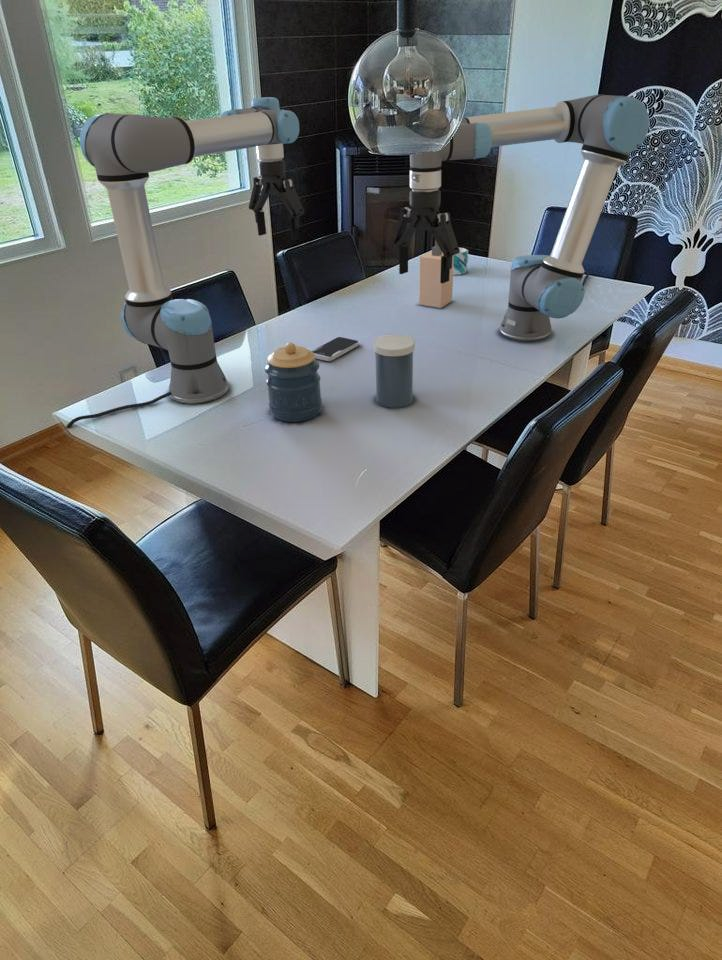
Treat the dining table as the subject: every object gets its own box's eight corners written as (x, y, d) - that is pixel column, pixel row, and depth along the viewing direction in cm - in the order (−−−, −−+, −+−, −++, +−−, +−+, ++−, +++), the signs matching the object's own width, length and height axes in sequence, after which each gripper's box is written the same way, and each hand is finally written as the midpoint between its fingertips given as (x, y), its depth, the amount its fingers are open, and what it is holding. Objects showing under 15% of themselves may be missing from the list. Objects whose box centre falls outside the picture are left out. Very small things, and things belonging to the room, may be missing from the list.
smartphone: (359, 341, 201) (329, 357, 190) (359, 345, 201) (329, 362, 191) (338, 336, 204) (308, 352, 194) (339, 340, 205) (308, 357, 195)
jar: (370, 404, 168) (368, 347, 160) (385, 389, 175) (384, 334, 167) (404, 410, 165) (404, 353, 156) (418, 395, 171) (418, 339, 163)
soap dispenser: (441, 308, 227) (443, 241, 215) (418, 304, 231) (419, 238, 219) (457, 297, 236) (460, 232, 224) (435, 294, 240) (437, 230, 228)
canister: (275, 426, 159) (266, 357, 150) (266, 403, 170) (257, 337, 160) (328, 418, 162) (323, 349, 153) (316, 396, 173) (310, 330, 163)
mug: (441, 273, 261) (442, 251, 257) (455, 265, 270) (456, 243, 265) (461, 275, 257) (462, 253, 253) (474, 267, 266) (475, 246, 261)
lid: (366, 353, 161) (366, 346, 160) (384, 338, 168) (384, 332, 167) (404, 359, 157) (404, 352, 156) (420, 344, 164) (420, 337, 163)
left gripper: (313, 160, 186) (318, 239, 198) (249, 155, 199) (257, 230, 211) (295, 164, 181) (301, 245, 193) (230, 159, 194) (240, 235, 206)
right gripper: (376, 186, 167) (378, 272, 179) (457, 197, 152) (454, 289, 164) (396, 182, 171) (396, 266, 183) (476, 191, 157) (472, 282, 168)
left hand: (278, 237), depth 202 cm, fingers open, 13 cm apart
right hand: (423, 277), depth 173 cm, fingers open, 13 cm apart
